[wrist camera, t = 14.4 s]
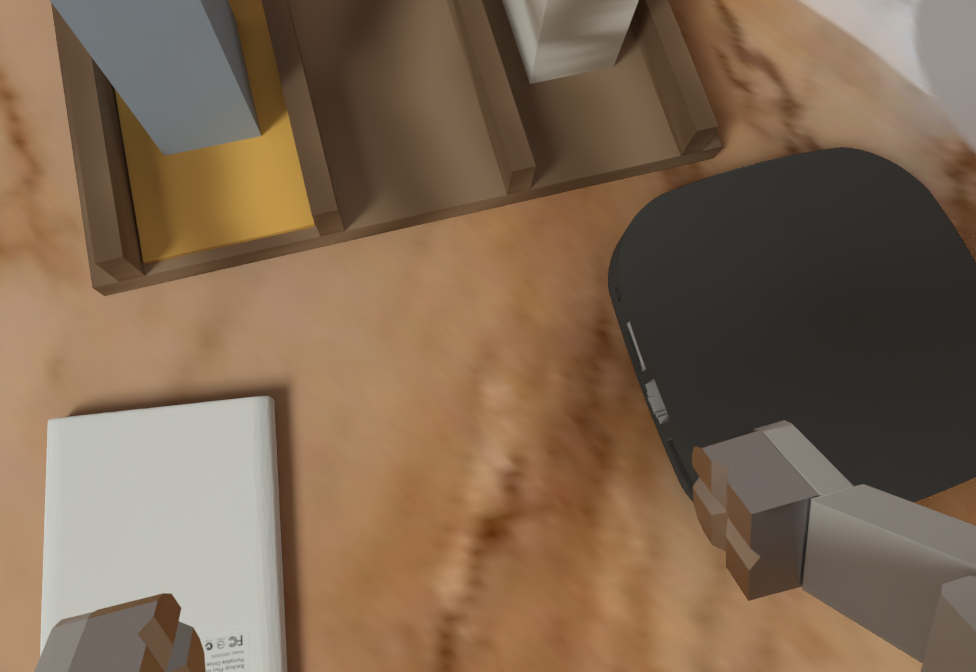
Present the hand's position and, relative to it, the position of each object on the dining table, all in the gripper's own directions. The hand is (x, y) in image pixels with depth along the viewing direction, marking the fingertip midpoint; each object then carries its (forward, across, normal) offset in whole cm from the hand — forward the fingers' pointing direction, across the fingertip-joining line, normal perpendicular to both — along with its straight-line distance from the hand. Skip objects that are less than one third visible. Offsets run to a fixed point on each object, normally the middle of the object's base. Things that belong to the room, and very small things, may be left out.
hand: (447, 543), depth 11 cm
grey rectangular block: (+25, +6, -4) cm, 26 cm away
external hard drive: (+13, +11, +11) cm, 20 cm away
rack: (+26, -2, -3) cm, 27 cm away
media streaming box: (+15, -16, +10) cm, 24 cm away
